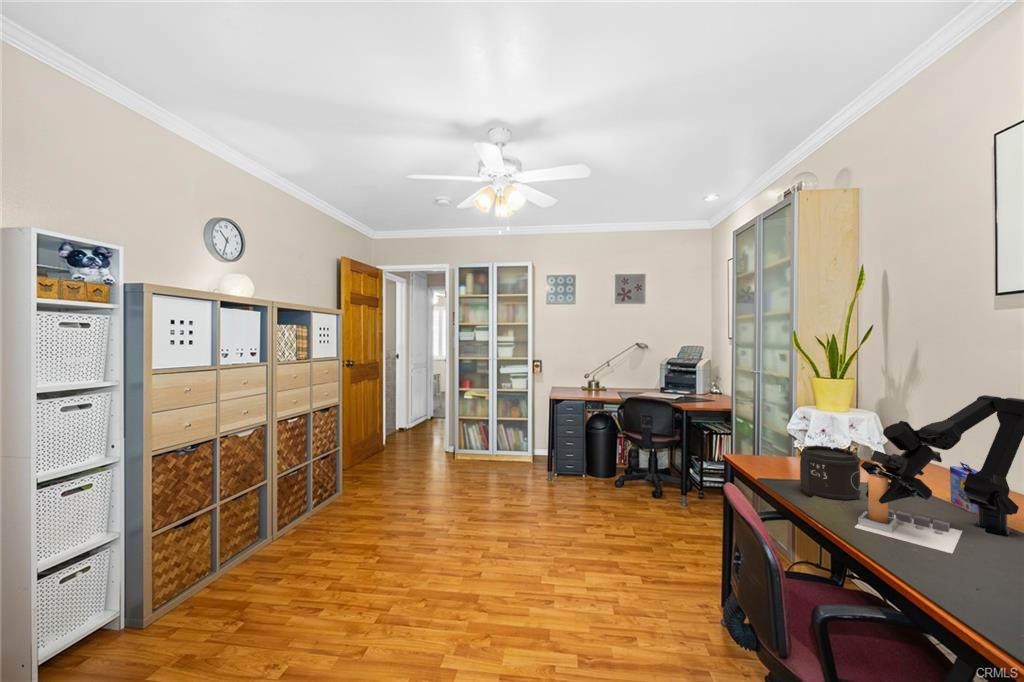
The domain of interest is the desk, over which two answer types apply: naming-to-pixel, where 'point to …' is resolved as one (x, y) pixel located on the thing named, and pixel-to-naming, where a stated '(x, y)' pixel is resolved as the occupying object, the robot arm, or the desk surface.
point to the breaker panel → (921, 531)
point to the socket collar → (878, 523)
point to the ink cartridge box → (961, 487)
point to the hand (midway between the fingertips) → (873, 499)
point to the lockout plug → (877, 498)
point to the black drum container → (830, 472)
